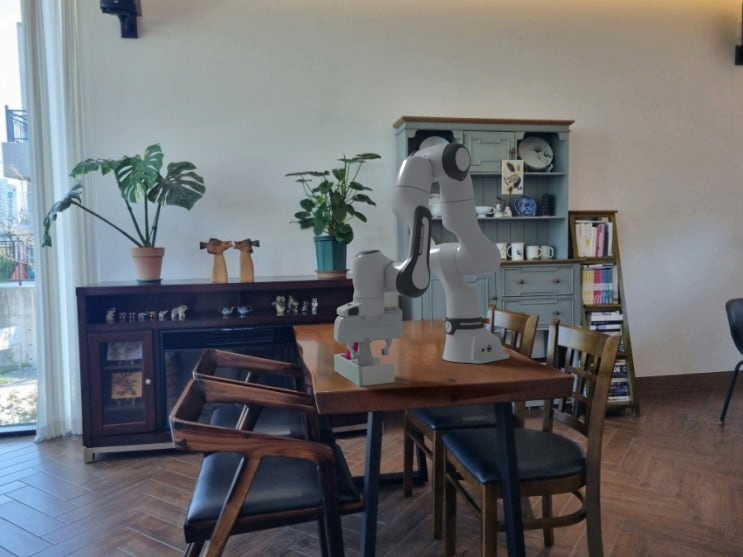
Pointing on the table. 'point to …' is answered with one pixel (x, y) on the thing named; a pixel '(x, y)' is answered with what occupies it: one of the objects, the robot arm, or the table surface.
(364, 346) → the salt shaker
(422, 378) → the table surface
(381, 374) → the condiment rack
